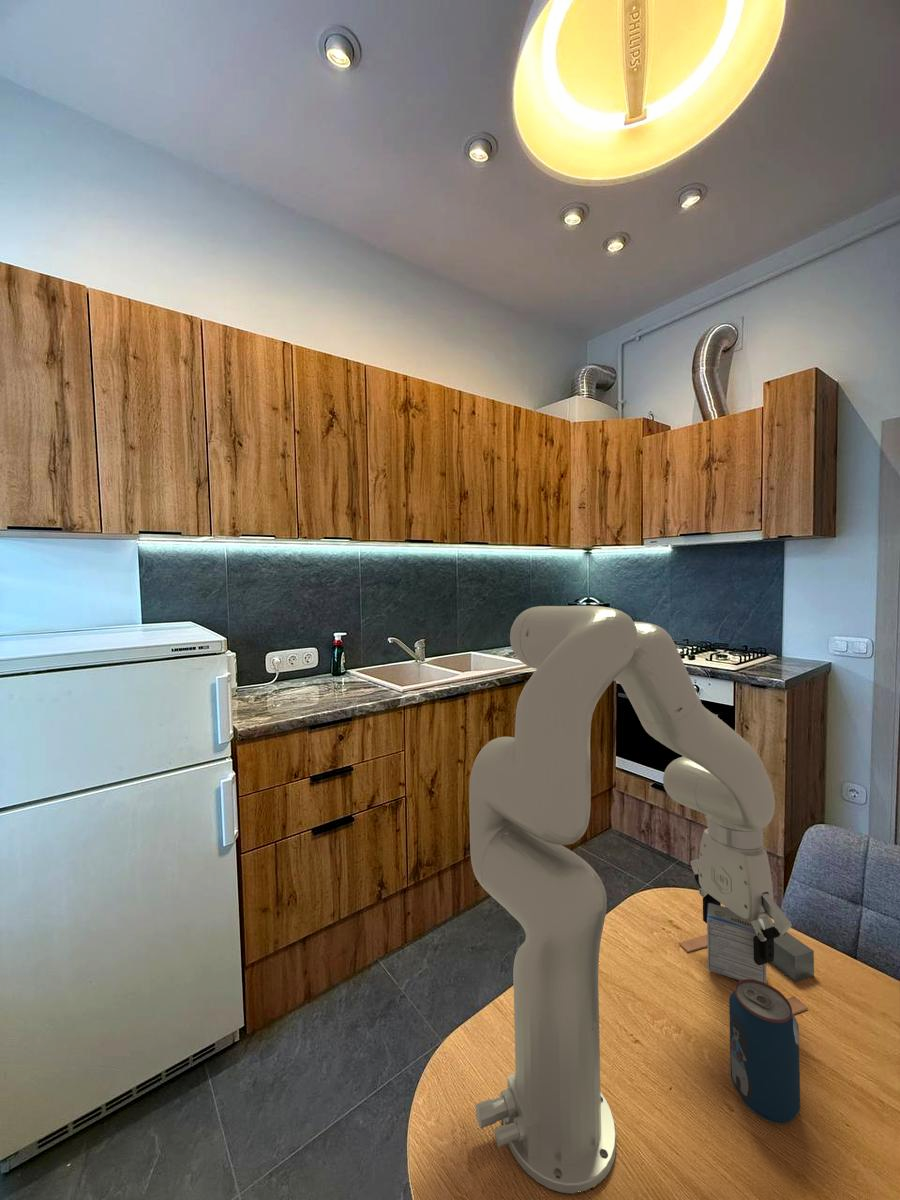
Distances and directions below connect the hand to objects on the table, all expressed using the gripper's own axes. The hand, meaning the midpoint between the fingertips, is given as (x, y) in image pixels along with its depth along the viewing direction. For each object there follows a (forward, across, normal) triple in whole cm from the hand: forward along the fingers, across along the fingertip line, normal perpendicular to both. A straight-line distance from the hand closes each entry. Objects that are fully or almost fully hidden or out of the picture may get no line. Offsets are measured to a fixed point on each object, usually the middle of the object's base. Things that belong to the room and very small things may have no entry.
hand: (736, 940), depth 74 cm
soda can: (+6, +15, -13) cm, 20 cm away
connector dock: (+6, 0, +4) cm, 7 cm away
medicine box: (+5, 0, 0) cm, 5 cm away
